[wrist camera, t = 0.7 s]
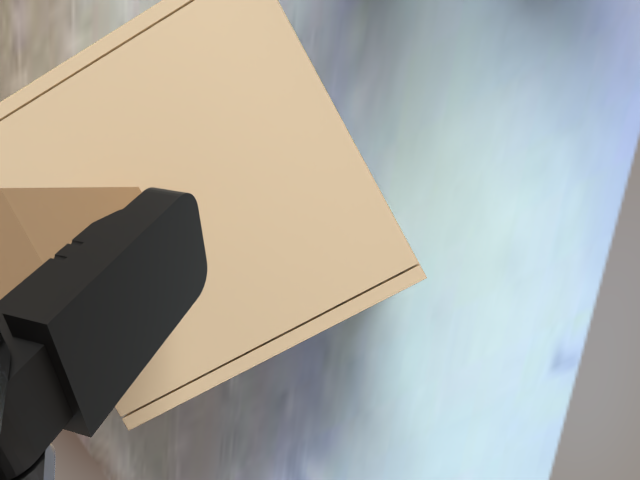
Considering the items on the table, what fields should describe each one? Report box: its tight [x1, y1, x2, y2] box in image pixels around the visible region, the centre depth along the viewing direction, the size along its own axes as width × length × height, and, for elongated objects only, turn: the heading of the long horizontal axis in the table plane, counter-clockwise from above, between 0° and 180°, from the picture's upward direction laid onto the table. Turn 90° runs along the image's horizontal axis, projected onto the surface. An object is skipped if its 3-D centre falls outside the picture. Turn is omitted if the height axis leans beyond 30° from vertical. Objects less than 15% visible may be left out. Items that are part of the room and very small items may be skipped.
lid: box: [0, 0, 427, 431], centre depth 21 cm, size 15×15×11 cm
